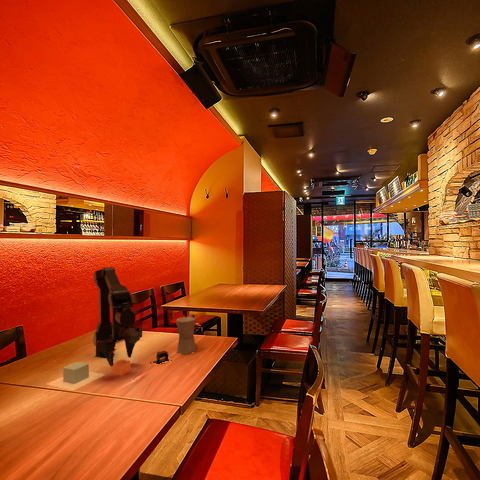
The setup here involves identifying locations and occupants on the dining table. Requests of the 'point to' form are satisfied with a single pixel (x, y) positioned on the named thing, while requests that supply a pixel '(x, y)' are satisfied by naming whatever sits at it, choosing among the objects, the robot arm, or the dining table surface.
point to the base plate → (71, 386)
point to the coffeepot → (186, 334)
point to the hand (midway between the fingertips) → (120, 361)
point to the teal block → (75, 372)
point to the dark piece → (160, 355)
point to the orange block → (121, 367)
